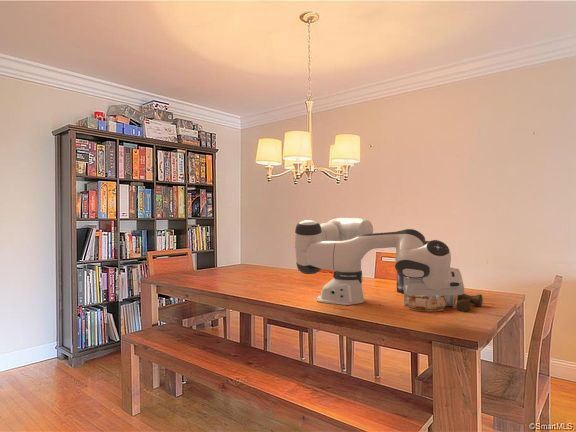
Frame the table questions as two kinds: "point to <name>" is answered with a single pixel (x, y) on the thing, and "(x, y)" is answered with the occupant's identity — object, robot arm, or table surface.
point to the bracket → (449, 298)
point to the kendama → (468, 302)
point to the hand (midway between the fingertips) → (433, 298)
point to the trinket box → (425, 303)
